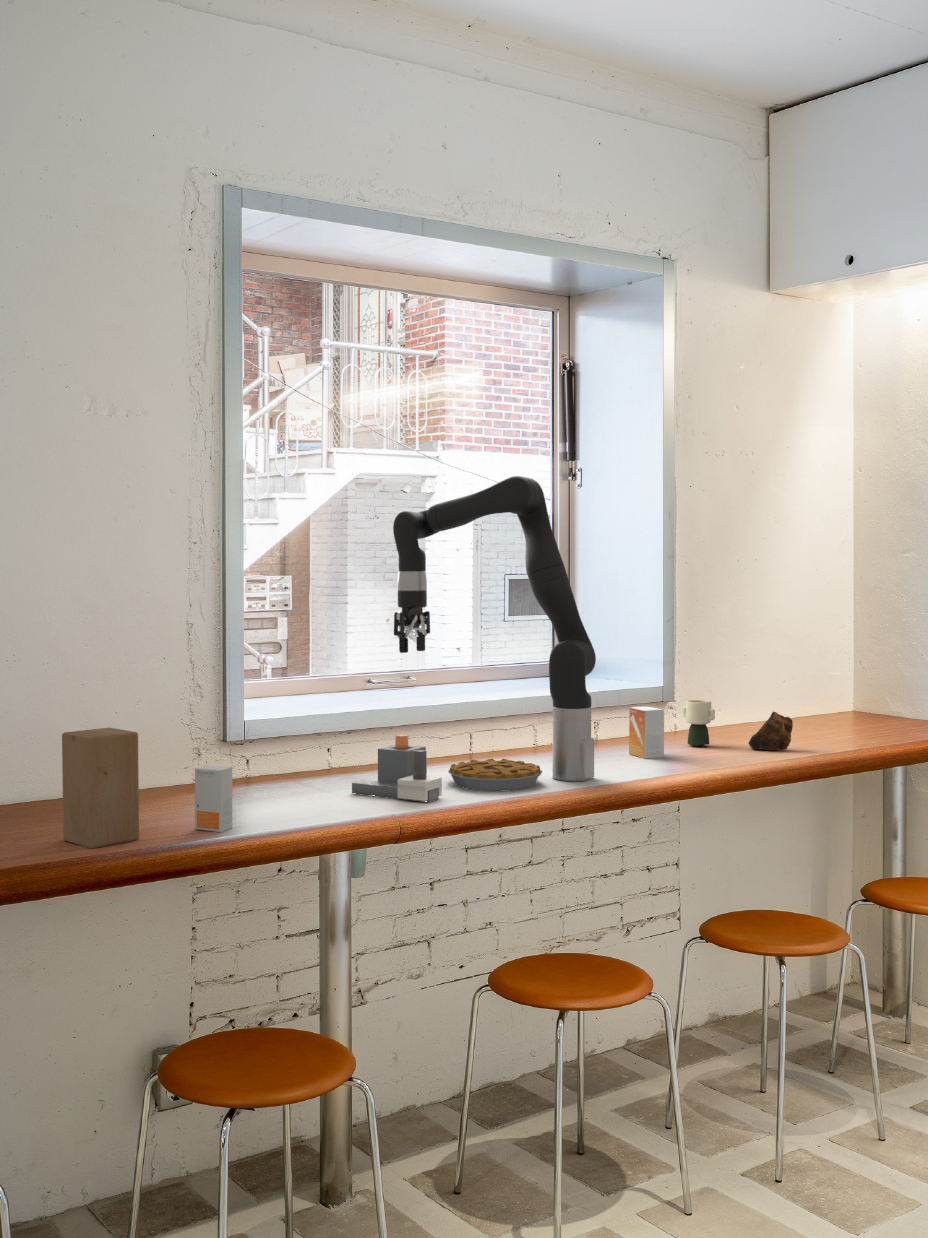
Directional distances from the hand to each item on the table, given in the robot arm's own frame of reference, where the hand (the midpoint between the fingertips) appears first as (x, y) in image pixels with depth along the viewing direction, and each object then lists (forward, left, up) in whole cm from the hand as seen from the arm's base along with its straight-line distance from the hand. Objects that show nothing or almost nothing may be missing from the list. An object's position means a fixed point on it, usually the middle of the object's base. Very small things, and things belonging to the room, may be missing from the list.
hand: (412, 651), depth 292 cm
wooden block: (+5, +101, -29) cm, 105 cm away
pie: (-32, +15, -30) cm, 46 cm away
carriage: (-26, +40, -29) cm, 56 cm away
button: (-15, +28, -22) cm, 39 cm away
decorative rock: (-76, -68, -29) cm, 106 cm away
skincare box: (-7, +84, -29) cm, 89 cm away
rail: (-20, +40, -29) cm, 53 cm away
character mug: (-56, -65, -29) cm, 91 cm away
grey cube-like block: (-15, +29, -29) cm, 43 cm away
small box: (-49, -41, -29) cm, 70 cm away
